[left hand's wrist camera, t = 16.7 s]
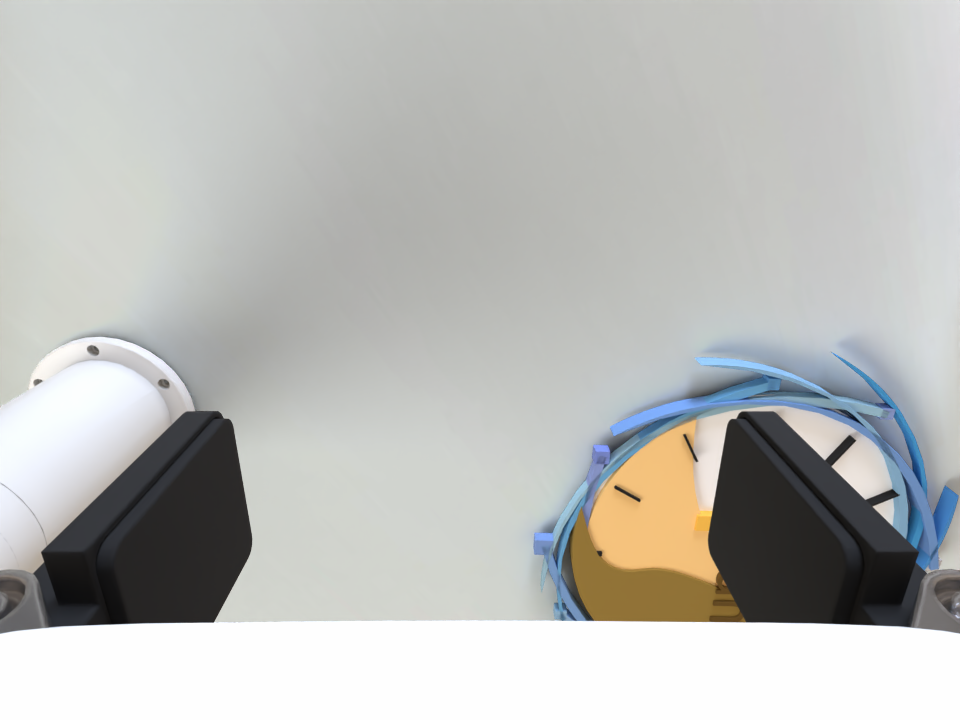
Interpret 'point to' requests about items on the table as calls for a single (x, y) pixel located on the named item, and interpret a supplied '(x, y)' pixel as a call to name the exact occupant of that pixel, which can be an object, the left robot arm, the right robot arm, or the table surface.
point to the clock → (691, 491)
